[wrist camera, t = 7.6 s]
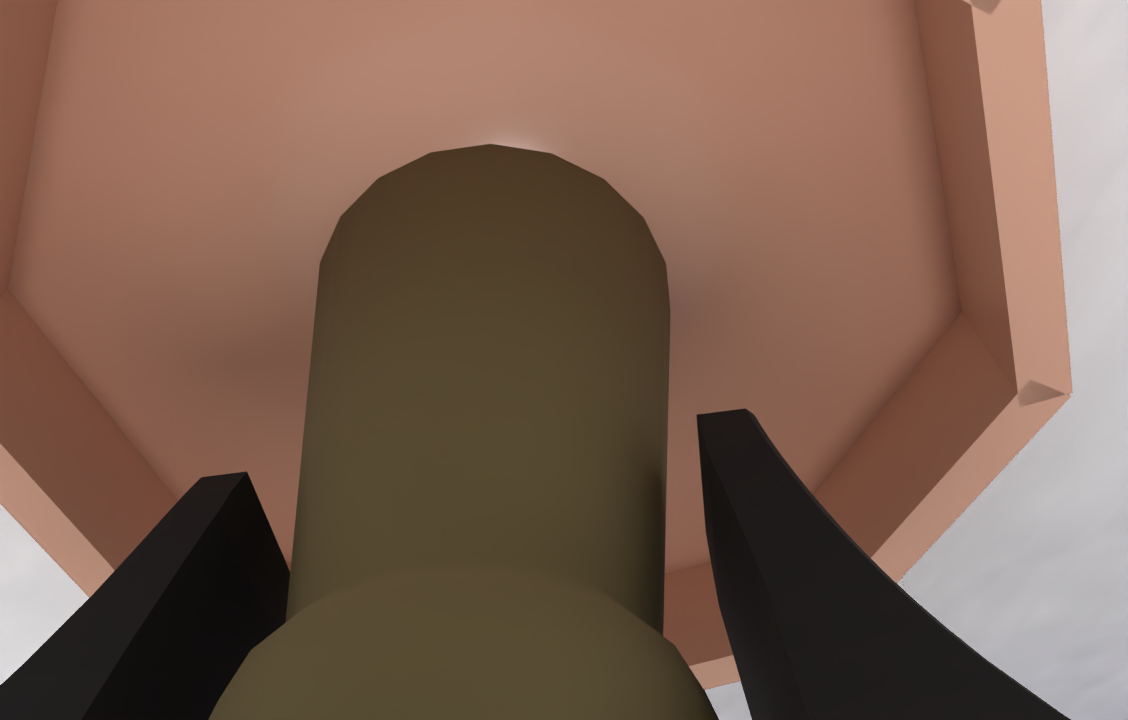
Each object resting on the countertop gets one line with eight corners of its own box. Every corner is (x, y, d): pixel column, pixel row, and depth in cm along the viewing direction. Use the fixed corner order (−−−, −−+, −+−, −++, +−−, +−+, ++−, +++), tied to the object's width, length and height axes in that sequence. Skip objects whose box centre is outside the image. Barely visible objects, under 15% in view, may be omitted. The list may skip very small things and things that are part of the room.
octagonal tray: (681, 678, 24) (699, 795, 21) (-58, 467, 19) (-145, 583, 17) (1199, 48, 15) (1329, 119, 13) (95, -577, 11) (-34, -655, 8)
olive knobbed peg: (658, 446, 19) (776, 1166, 10) (337, 447, 18) (151, 1184, 9) (685, 144, 15) (915, 822, 6) (293, 142, 15) (-72, 838, 6)
